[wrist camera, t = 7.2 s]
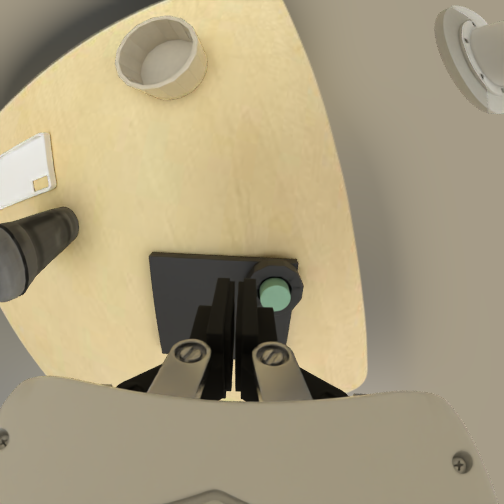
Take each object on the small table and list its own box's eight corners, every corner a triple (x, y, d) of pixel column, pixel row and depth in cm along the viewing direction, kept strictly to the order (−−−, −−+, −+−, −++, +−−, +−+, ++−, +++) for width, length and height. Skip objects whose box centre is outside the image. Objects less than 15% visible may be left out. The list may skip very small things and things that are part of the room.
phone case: (50, 130, 23) (-12, 165, 24) (43, 130, 22) (-17, 166, 22) (57, 187, 26) (-4, 211, 26) (51, 189, 25) (-9, 213, 25)
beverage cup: (97, 222, 28) (-29, 316, 9) (72, 263, 30) (-28, 360, 11) (59, 183, 26) (-74, 241, 7) (38, 226, 28) (-71, 298, 9)
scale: (301, 255, 30) (306, 266, 27) (285, 354, 35) (288, 370, 32) (151, 248, 29) (142, 258, 26) (164, 347, 34) (159, 362, 32)
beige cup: (210, 36, 21) (201, 12, 15) (204, 98, 23) (193, 85, 18) (143, 42, 21) (121, 23, 15) (137, 102, 23) (111, 94, 18)
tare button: (290, 277, 28) (292, 286, 26) (286, 302, 29) (288, 311, 27) (260, 276, 28) (261, 284, 26) (258, 301, 29) (259, 311, 27)
